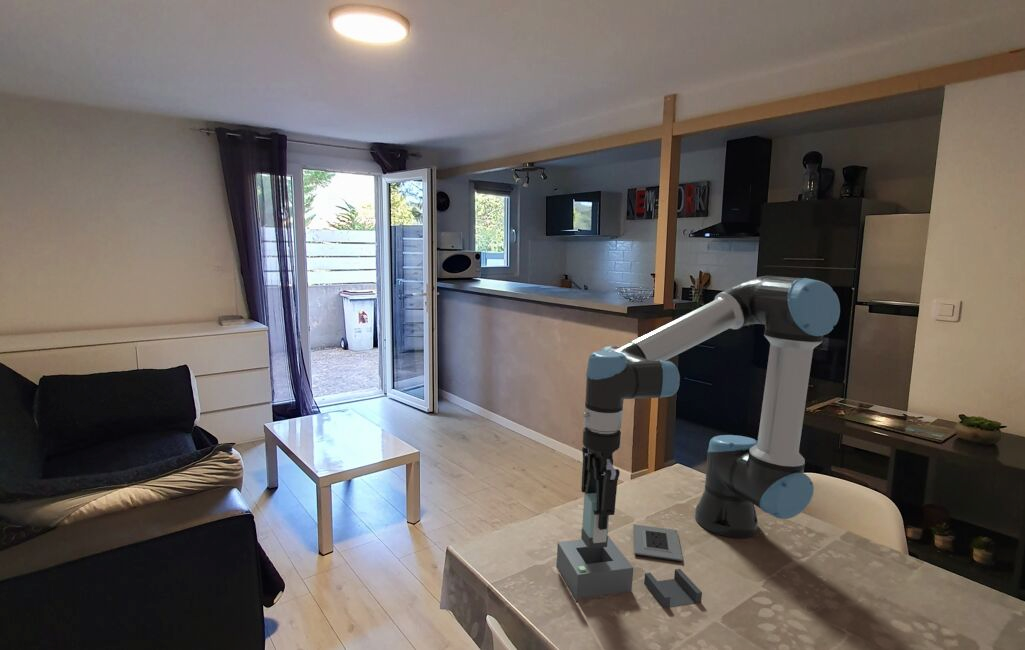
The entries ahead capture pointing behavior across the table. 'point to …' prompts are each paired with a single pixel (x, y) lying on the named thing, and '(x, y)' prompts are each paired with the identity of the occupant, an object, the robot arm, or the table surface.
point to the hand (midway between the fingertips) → (594, 535)
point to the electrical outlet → (657, 543)
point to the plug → (590, 521)
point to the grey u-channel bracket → (674, 590)
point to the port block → (593, 569)
